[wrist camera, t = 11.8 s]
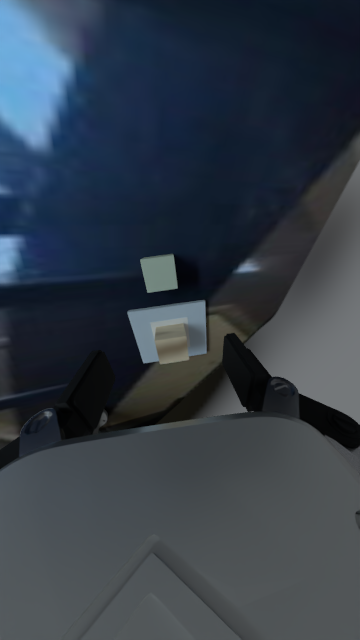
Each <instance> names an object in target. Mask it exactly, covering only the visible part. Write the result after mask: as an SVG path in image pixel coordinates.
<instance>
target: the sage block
mask: <svg viewBox="0 0 360 640" xmlns="http://www.w3.org/2000/svg"><path fill="white" fill-rule="evenodd" d="M140 262H141V266H142V271H143V275H144V279H145V284H146V288H147V292H148V293H149V292H156V291H163V290H170V289H177V288H178V286H177V278H176V270H175V262H174V255H173V254H168V255H160V256H152V257H145V258H142V259H140Z"/></svg>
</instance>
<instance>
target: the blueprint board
mask: <svg viewBox="0 0 360 640" xmlns="http://www.w3.org/2000/svg"><path fill="white" fill-rule="evenodd" d="M127 313H128V316H129V319H130V322H131V326H132V329H133V332H134V335H135V338H136V341H137V344H138V347H139V351H140V354H141V357H142V360H143V363H148V362H155V361H159V358H158V353H157V349H156V345H155V341H154V340H155V331H156V327H160V326H167V325H174V324H181V323H183V324H184V328H185V332H186V337H187V346H188V355H189V356H193V355H200V354H206V353H207V345H206V311H205V300H199V301H192V302H185V303H178V304H171V305H164V306H157V307H150V308H143V309H136V310H129V311H128V312H127Z"/></svg>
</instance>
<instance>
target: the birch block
mask: <svg viewBox="0 0 360 640" xmlns="http://www.w3.org/2000/svg"><path fill="white" fill-rule="evenodd" d="M154 341H155V345H156V349H157V353H158V358H159V362H160V364H166V363H172V362H179V361H185V360H189V355H188V346H187V337H186V332H185V328H184V324H183V323H181V324H174V325H167V326H160V327H156V331H155V340H154Z"/></svg>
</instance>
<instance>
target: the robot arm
mask: <svg viewBox="0 0 360 640" xmlns="http://www.w3.org/2000/svg"><path fill="white" fill-rule="evenodd" d="M222 363H223V366H224V368H225V370H226V372H227V374H228V376H229V379H230V381H231V383H232V385H233V387H234V389H235V391H236V393H237V395H238V397H239V399H240V402H241V404H242V406H243V407H246V409H247V411H248V412H245V413H237V414H230V415H221V416H214V417H207V418H200V419H193V420H186V421H180V422H173V423H166V424H160V425H153V426H146V427H139V428H133V429H126V430H120V431H114V432H107V433H101V434H98V430H99V427H101V426H103V425H104V424H105V423H106V421H107V419H108V413H107V412H106V410H105V409H104V408H105V405H106V403H107V400H108V397H109V395H110V392H111V389H112V387H113V384H114V381H115V375H114V373H113V370H112V368H111V366H110V364H109V362H108V359H107V357H106V355H105V353H104V352H102V351H101V350H97V351H92V352H91V353H90V354H89V356H88V357H87V359H86V360H85V362H84V363H83V364H82V366H81V367H80V369H79V370H78V372H77V373H76V374H75V376H74V377H73V379H72V380H71V382H70V383H69V385H68V386H67V387H66V389H65V390H64V392H63V393H62V395H61V396H60V397H59V399H58V400H57V402H56V403H55V405H56V406H55V407H54V409H52V408H50V409H45V410H43V411H41V412H39V413H37V414H36V415H34V416H33V417H32V418H31V419H30V420H28V421H27V423H26V424H25V425H24V426H23V428H22V430H21V433H20V436H19V437H18V438H17V439H15V440H14V441H12V442H11V443H9V444H8V445H7V446H5V447H4V448H2V449H1V450H0V640H360V425H359V424H358V423H357V422H356V421H355V420H353V419H352V418H351V417H349V416H348V415H346V414H344V413H342V412H340V411H338V410H335V409H333V408H331V407H328V406H326V405H324V404H322V403H320V402H317V401H315V400H313V399H310V398H308V397H306V396H303V395H301V394H299V393H298V390H297V388H296V387H295V386H294V385H293V384H292V383H291V382H290V381H288V380H286V379H284V378H281V377H271V375H270V374H269V373H268V372H267V370H266V369H265V368H264V367H263V365H262V364H261V363H260V362H259V360H258V359H257V358H256V357H255V355H254V354H253V353H252V352H251V350H249V349H248V348H246V347H245V346H244V344H243V343H242V342H241V341H240V339H239V338H238V337H237V335H236V334H235V333H231V334H227V335H226V336H224V346H223V359H222ZM251 411H254V412H251Z"/></svg>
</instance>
